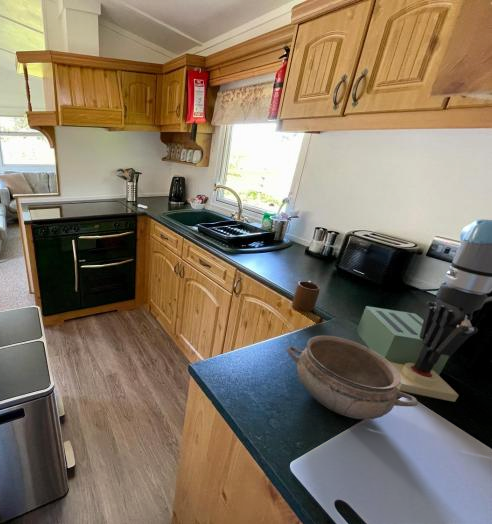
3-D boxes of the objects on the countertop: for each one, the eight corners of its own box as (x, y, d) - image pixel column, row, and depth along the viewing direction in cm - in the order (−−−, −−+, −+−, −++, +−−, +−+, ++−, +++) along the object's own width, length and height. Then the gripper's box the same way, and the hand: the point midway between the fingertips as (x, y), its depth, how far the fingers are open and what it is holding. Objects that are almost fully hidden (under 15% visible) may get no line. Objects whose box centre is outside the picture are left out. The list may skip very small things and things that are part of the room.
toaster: (403, 339, 95) (415, 313, 92) (439, 375, 80) (455, 345, 76) (355, 331, 98) (366, 305, 94) (381, 364, 83) (395, 334, 79)
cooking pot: (267, 395, 69) (280, 353, 64) (288, 357, 83) (299, 320, 78) (403, 466, 54) (430, 418, 50) (400, 405, 68) (421, 364, 64)
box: (430, 376, 79) (436, 364, 78) (454, 402, 71) (462, 389, 69) (380, 367, 81) (385, 355, 80) (398, 390, 73) (405, 378, 72)
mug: (295, 296, 120) (300, 276, 117) (315, 302, 117) (322, 281, 113) (290, 307, 111) (296, 285, 108) (312, 314, 107) (319, 291, 104)
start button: (422, 372, 76) (425, 367, 76) (431, 382, 73) (434, 377, 73) (406, 369, 77) (409, 364, 77) (415, 379, 74) (418, 373, 73)
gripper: (426, 274, 73) (391, 351, 81) (467, 297, 61) (421, 384, 69) (462, 279, 71) (422, 356, 80) (511, 303, 59) (458, 391, 68)
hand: (421, 369), depth 74 cm, fingers closed
